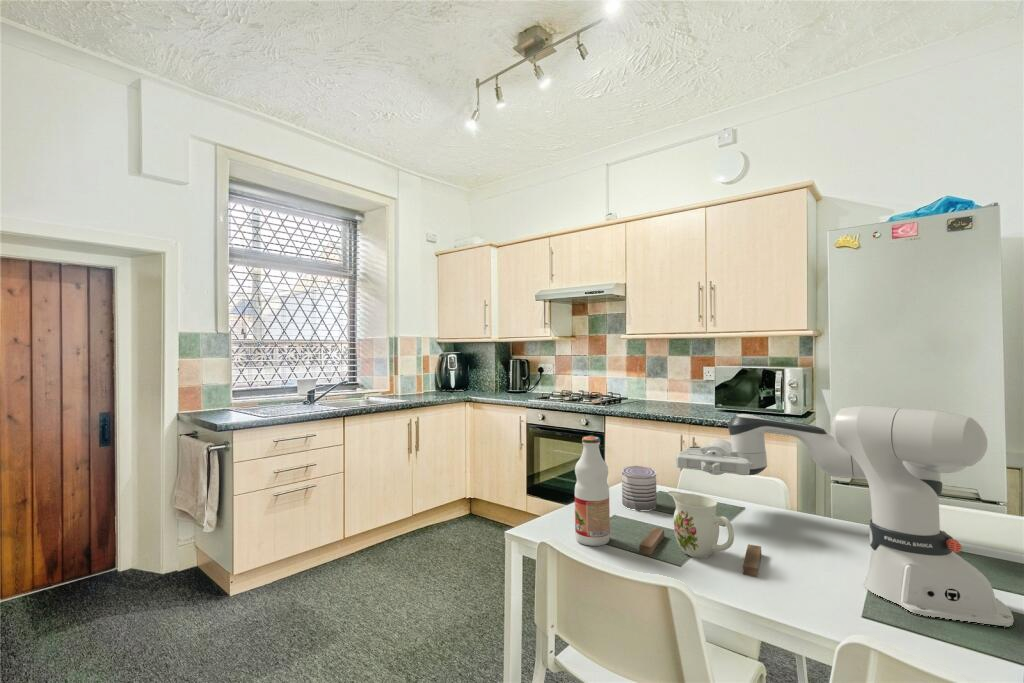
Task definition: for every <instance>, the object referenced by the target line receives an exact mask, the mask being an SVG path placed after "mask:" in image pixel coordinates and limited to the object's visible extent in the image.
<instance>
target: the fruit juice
mask: <svg viewBox="0 0 1024 683" xmlns="http://www.w3.org/2000/svg"><path fill="white" fill-rule="evenodd" d="M581 443H582V446H583V447H582V448H583V449H582V452H581V455H580V457H579V459H578V460H577V462H576V463H575V467H574V473H575V478H576V483H575V485H574V522H575V523H574V525H575V528H574V529H575V530H574V532H575V533H574V534H575V540H576V541H577V542H578V543H579V544H581V545H584V546H589V547H590V546H591V547H597V546H598V547H599V546H604V545H607V544H608V543H609V542H610V539H611V530H610V528H611V526H610V525H611V524H610V522H611V521H610V518H611V517H610V513H611V512H610V488H609V484H608V476H609V467H608V464H607V462H606V461H605V460H604V459H603V457H602V453H601V450H600V444H601V438H600V437H598V436H593V435H592V436H582V439H581Z"/></svg>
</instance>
